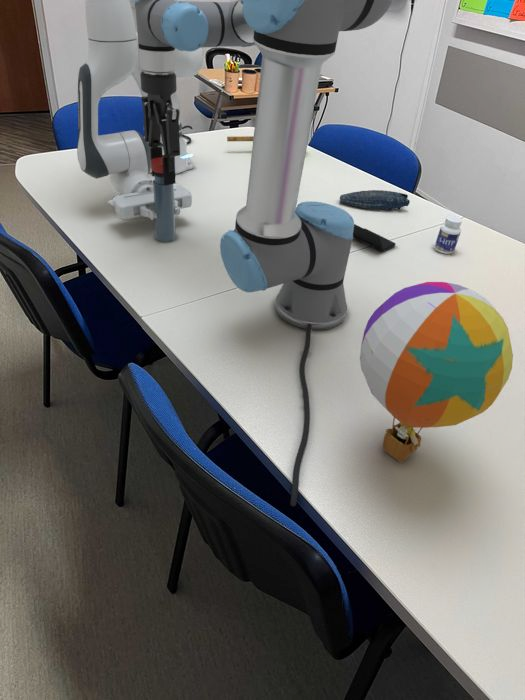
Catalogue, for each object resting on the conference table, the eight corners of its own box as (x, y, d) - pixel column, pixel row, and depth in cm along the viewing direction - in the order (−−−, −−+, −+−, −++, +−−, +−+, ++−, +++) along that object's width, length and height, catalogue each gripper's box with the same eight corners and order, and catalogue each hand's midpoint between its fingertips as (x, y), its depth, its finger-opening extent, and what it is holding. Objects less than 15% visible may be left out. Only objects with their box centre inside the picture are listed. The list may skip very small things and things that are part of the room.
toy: (311, 442, 83) (343, 281, 64) (387, 392, 94) (434, 241, 75) (410, 529, 72) (484, 365, 53) (484, 461, 83) (567, 304, 64)
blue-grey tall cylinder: (167, 231, 137) (164, 169, 126) (179, 238, 134) (177, 175, 124) (152, 236, 134) (148, 173, 124) (164, 244, 131) (161, 179, 121)
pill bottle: (433, 251, 139) (442, 220, 133) (435, 243, 143) (444, 213, 137) (453, 256, 138) (464, 225, 132) (454, 247, 142) (465, 217, 136)
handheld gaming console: (399, 237, 140) (392, 215, 132) (388, 260, 139) (379, 239, 130) (362, 229, 146) (352, 207, 138) (350, 250, 145) (340, 230, 137)
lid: (166, 175, 120) (165, 166, 119) (146, 170, 122) (146, 161, 120) (179, 168, 124) (179, 160, 123) (160, 163, 126) (159, 155, 124)
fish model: (408, 214, 157) (412, 198, 153) (339, 207, 158) (341, 191, 154) (406, 206, 162) (410, 190, 159) (339, 199, 163) (341, 183, 160)
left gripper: (104, 188, 131) (125, 209, 122) (177, 176, 141) (202, 195, 132) (107, 211, 135) (127, 233, 126) (178, 199, 145) (202, 218, 136)
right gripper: (195, 79, 106) (196, 190, 120) (154, 62, 118) (159, 165, 132) (162, 82, 102) (167, 195, 117) (123, 63, 114) (132, 169, 128)
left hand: (166, 214), depth 129 cm, fingers closed on blue-grey tall cylinder, 5 cm apart
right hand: (163, 179), depth 124 cm, fingers closed on lid, 5 cm apart
